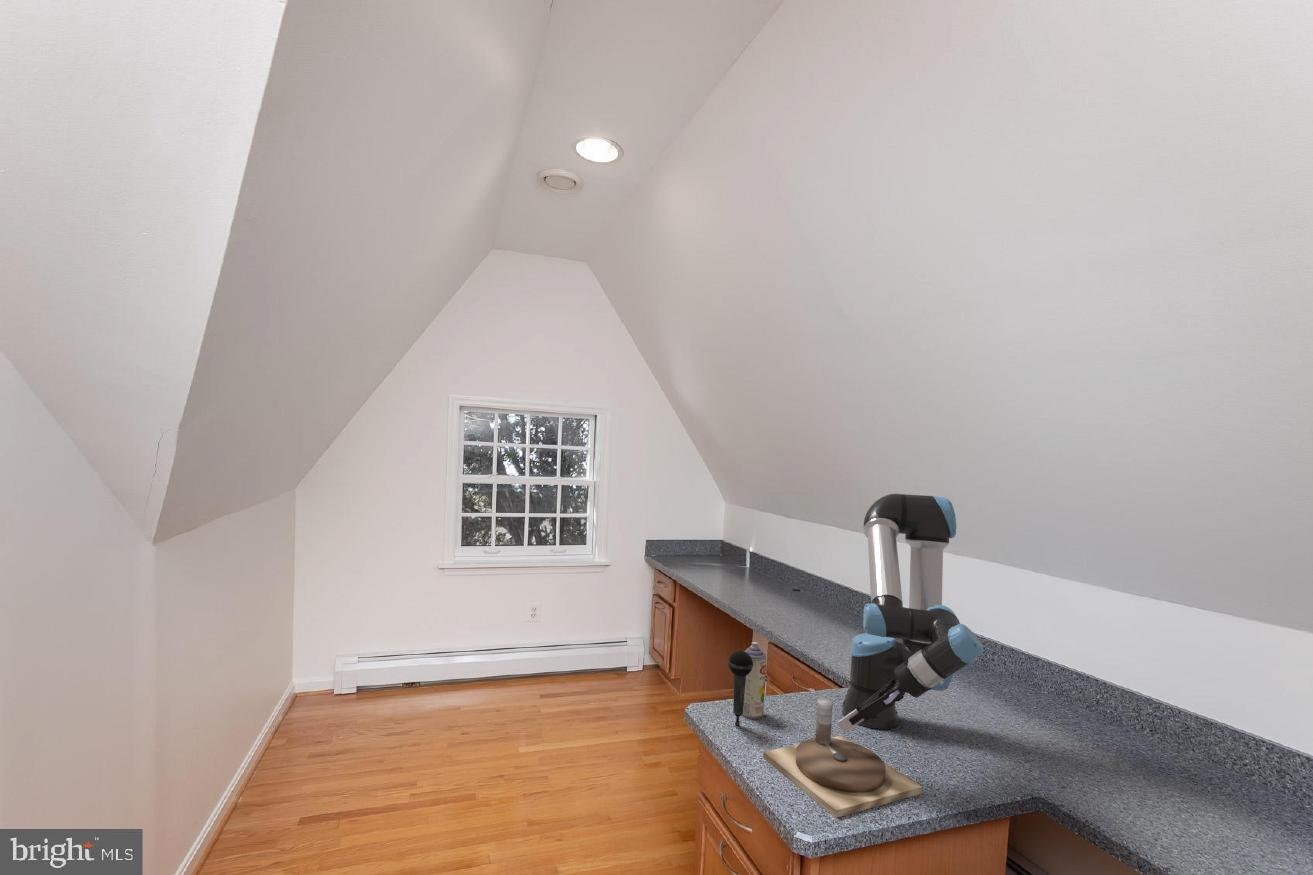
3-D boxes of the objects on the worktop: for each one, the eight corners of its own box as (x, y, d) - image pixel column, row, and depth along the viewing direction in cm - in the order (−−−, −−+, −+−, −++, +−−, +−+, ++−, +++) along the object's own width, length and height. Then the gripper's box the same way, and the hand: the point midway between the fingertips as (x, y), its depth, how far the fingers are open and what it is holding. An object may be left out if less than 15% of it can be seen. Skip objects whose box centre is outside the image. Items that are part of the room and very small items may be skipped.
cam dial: (904, 788, 131) (906, 733, 131) (821, 795, 126) (824, 738, 126) (854, 743, 150) (857, 695, 150) (781, 747, 146) (784, 698, 146)
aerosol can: (761, 720, 164) (765, 648, 164) (737, 716, 166) (741, 644, 166) (764, 710, 171) (768, 641, 171) (740, 706, 173) (744, 637, 173)
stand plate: (841, 741, 155) (841, 733, 155) (921, 793, 132) (922, 784, 132) (763, 757, 144) (763, 749, 144) (835, 817, 121) (836, 808, 121)
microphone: (730, 732, 156) (734, 656, 157) (720, 720, 163) (724, 647, 163) (754, 730, 158) (758, 655, 158) (743, 719, 165) (747, 646, 165)
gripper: (927, 698, 130) (846, 752, 138) (933, 680, 141) (857, 731, 149) (902, 668, 133) (824, 722, 141) (910, 652, 144) (837, 704, 152)
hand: (841, 727), depth 145 cm, fingers closed
